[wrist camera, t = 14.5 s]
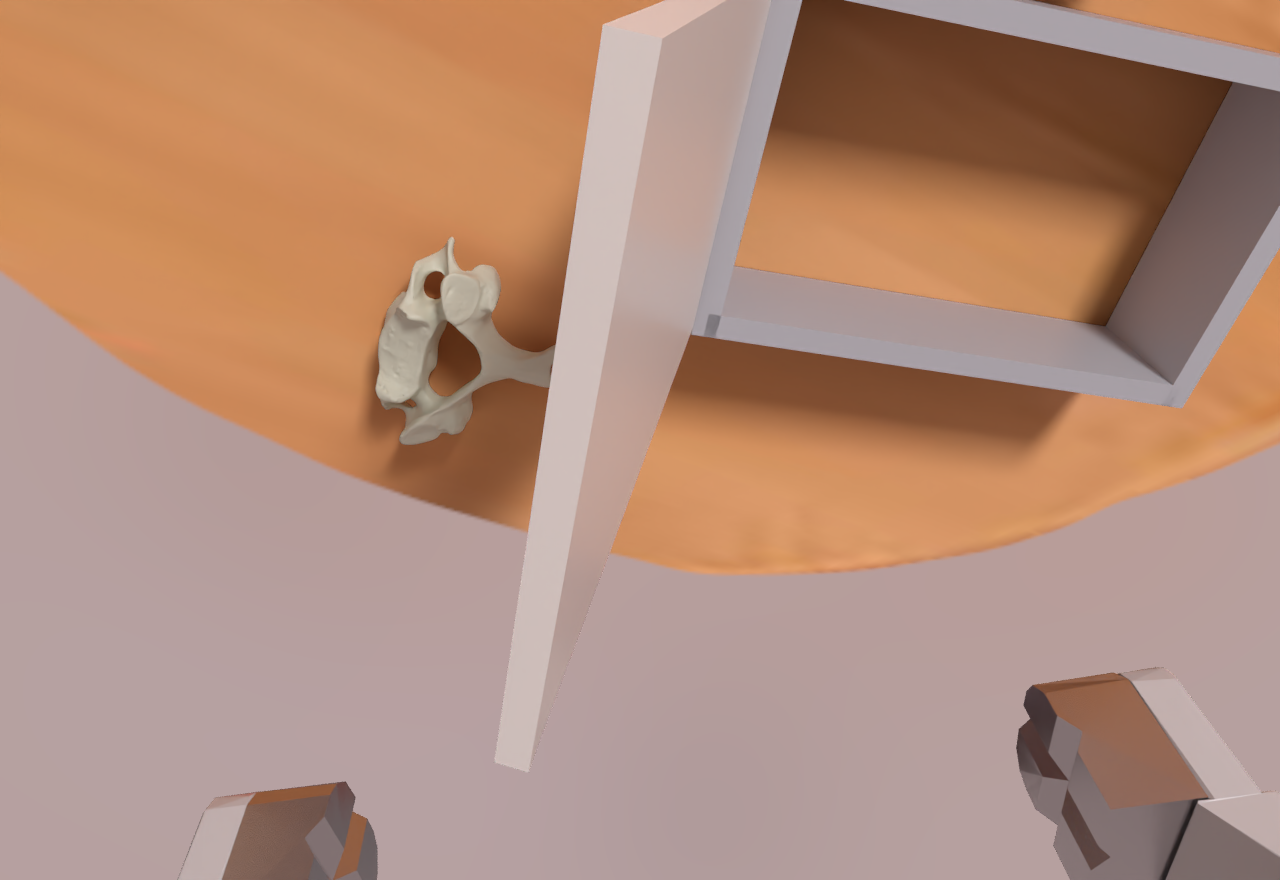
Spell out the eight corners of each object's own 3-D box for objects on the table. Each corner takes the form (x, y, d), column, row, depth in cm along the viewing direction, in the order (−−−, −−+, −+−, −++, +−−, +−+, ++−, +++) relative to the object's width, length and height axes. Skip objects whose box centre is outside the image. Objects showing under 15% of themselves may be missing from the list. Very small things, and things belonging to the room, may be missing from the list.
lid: (692, 327, 41) (676, 323, 41) (778, -32, 33) (758, -36, 33) (528, 772, 19) (494, 762, 19) (662, 38, 11) (603, 24, 11)
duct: (679, 278, 47) (691, 334, 42) (754, -61, 39) (783, -50, 33) (1114, 347, 51) (1182, 408, 45) (1272, 52, 42) (1381, 79, 36)
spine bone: (526, 430, 54) (539, 477, 50) (360, 409, 50) (361, 457, 46) (580, 254, 48) (600, 291, 44) (398, 214, 44) (402, 251, 40)
